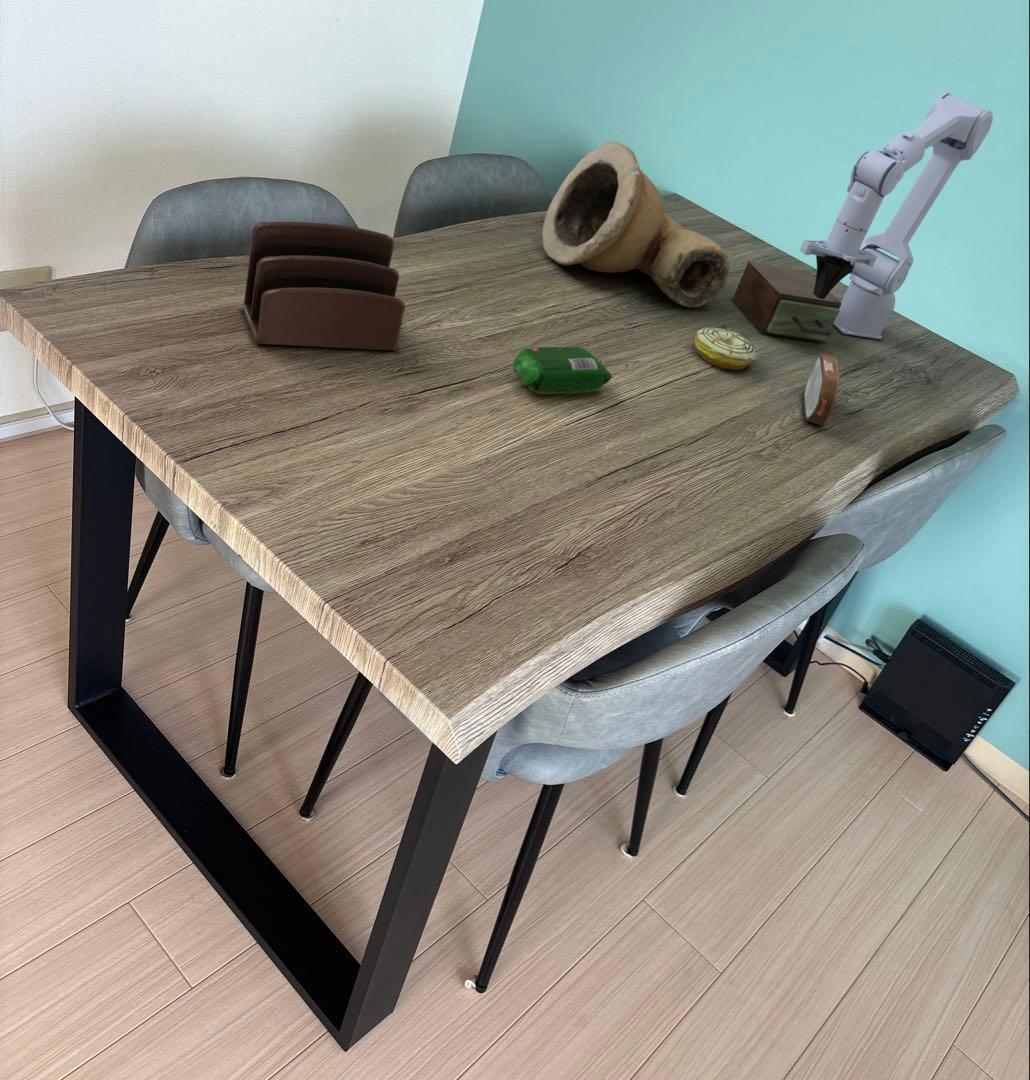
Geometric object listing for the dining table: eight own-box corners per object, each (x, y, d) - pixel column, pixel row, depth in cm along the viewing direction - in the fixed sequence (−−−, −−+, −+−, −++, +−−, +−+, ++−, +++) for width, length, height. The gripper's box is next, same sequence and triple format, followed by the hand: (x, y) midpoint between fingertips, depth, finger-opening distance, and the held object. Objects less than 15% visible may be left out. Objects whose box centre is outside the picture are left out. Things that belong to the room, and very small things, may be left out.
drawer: (837, 353, 188) (852, 322, 184) (780, 345, 183) (795, 313, 180) (795, 309, 200) (809, 280, 197) (741, 301, 196) (754, 271, 192)
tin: (821, 435, 160) (844, 388, 155) (802, 428, 160) (825, 382, 156) (817, 394, 173) (839, 350, 168) (799, 388, 173) (820, 344, 168)
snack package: (613, 398, 152) (624, 367, 149) (523, 400, 144) (534, 367, 141) (589, 373, 156) (600, 343, 153) (501, 374, 148) (510, 342, 145)
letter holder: (242, 310, 143) (253, 213, 135) (377, 318, 152) (395, 228, 143) (255, 345, 136) (268, 246, 128) (396, 352, 145) (416, 260, 137)
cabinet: (822, 342, 193) (841, 303, 188) (761, 333, 188) (779, 293, 183) (791, 308, 203) (808, 271, 198) (732, 299, 198) (748, 260, 193)
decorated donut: (762, 369, 175) (771, 349, 173) (724, 377, 168) (733, 357, 166) (717, 339, 180) (725, 320, 178) (679, 346, 173) (687, 326, 171)
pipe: (697, 353, 195) (596, 303, 175) (615, 282, 213) (515, 229, 192) (773, 247, 187) (676, 182, 166) (681, 182, 205) (583, 116, 184)
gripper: (828, 226, 170) (794, 301, 178) (898, 240, 175) (862, 311, 183) (809, 210, 176) (777, 283, 183) (877, 223, 181) (843, 293, 189)
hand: (818, 296), depth 184 cm, fingers closed
